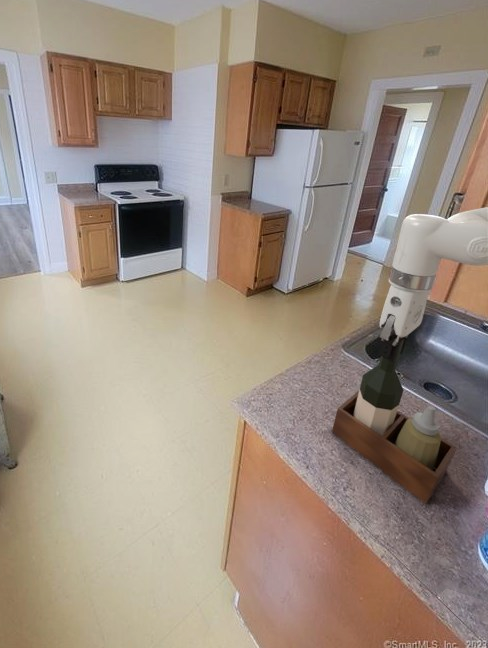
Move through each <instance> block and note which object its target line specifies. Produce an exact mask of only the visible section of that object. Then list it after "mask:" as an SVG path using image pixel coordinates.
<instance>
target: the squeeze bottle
mask: <svg viewBox="0 0 488 648" xmlns="http://www.w3.org/2000/svg"><path fill="white" fill-rule="evenodd" d="M412 416H413V417H408V418H409V419H408V420H407V421H406V422H405V424H404V426H403V428H402V429H401V431H400V433H399V435H398V437H397V439H396V440H395V442H394V445H396V446H397V447H398V448H400V449H401V450H403V451H404V452H406V453H407V454H409V455H410V456H412V457H413V458H415V459H416V460H417V461H419V462H420V463H422V464H423V465H425V466H426V467H428V468H429V469H431V470H432V471H433V472H434V470H435V468H434V467H435V463H436V459H437V455H438V451H439V447H440V442H441V438H442V435H441V433H440V431H439V430H440V429H441V428H440V427H441V425H440V423H439V421H438V420H437V419H436V408H435V407H434V406H433V405H428V406H427V407H426V409H424V411H423V412H421V411H419V412H415V413H414V414H413V415H412Z"/></svg>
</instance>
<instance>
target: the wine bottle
mask: <svg viewBox="0 0 488 648" xmlns="http://www.w3.org/2000/svg"><path fill="white" fill-rule="evenodd" d="M390 335H391V336H393V337H395V335H394V334H392V333H391V334H390ZM404 338H405V337H399V340H398V343H397V345H399V346H398V350H397V353H396V357H395V360H394V361H390V360H388V359H386V358H384V357H382V356H380V357H379V361H378V364H377V365H376V366H375V367H373V368H372V369H369V370H368V371H367V372H365V373H364V374H363V375H362V378H361V382H360V386H359V390H358V391H359V394H358V398H357V402H356V406H355V410H354V414H353V417H355V418H356V419H358V420H359V421H361V422H362V423H363V424H365V425H366V426H368V427H369V428H371V429H372V430H374V431H375V432H377V433H378V434H380V435H381V436H383V435H384V433H385V432H386V431H387V430H388V429H389V428H390V427H391V426H392V425H393V423H394V419H395V416H396V413H397V411H398V408H399V407H400V403H401V400H402V397H403V393H404V388H403V386H402V382H401V381H400V377H399V376H398V373H397V366H398V363H399V360H400V357H401V354H400V353H401V350H402V346H403V343H404Z"/></svg>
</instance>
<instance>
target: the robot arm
mask: <svg viewBox="0 0 488 648" xmlns="http://www.w3.org/2000/svg"><path fill="white" fill-rule="evenodd" d="M400 227H401V228H400V232H399V236H398V240H397V244H396V248H395V252H394V256H393V261H392V264H391V268H390V272H389V276H388V283H389V284H390V286H389V290H388V292H387V295H386V298H385V302H384V304H383V308H382V311H381V315H380V320H379V328H380V329H381V330H382V331H381V332H380V335H379V338H380V339H381V341H380V346H379V349H378V353H377V354H378V356H380V357H381V356H382V357H384V358H386V359H388V360H390V361H394V360H395V357H396V353H397V350H398V346H399V345H397V343H398V340H399V337H404V343H403V346H402V350H401V353H400V355H403V354H404V351H405V347H406V344H407V341H408V336H409V335H410V334H411V333H412V332H414V331H415V330H416V329H418V327H420V325H421V324H422V322H423V318H424V314H425V311H426V307H427V302H428V298H429V292H431V291H432V290H433V286H434V284H435V280H436V277H437V273H438V270H439V267H440V264H441V261H442V260H443V259H444V260H447V261H452V262H456V263H459V264H464V265H468V266H476V267H477V266H478V267H479V266H480V267H481V266H488V206H486V207H481V208H475V209H470V210H466V211H461V212H458V213H456V214H453V215H451V216H450V217H448V218H447V219H446V218H444V217H442V216H438V215H432V214H425V213H424V214H423V213H415V214H409V215H408V216H406V217H405V218H404V219H403V221H402V224H401V226H400ZM391 333H392V334H394V335H395V337H393V336H391V335H390V334H391Z"/></svg>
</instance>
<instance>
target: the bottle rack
mask: <svg viewBox="0 0 488 648" xmlns="http://www.w3.org/2000/svg"><path fill="white" fill-rule="evenodd" d="M358 394H359V390H358V391H356V392H355V393H354V394H353V395H351V396H350V397H349V398H348V399H347V400H346V401H344V402H343V403H342V404H341V405H340V406H338V407H337V408H336V413H335V417H334V422H333V426H332V430H331V433H332V434H333V435H334V436H336V437H337V438H338V439H340V440H341V441H342V442H344V443H345V444H347V445H348V446H349V447H351V449H353V450H354V451H356V452H357V453H358V454H359V455H361V456H362V457H364V458H365V459H366V460H368V461H369V462H370V463H372V464H373V465H374V466H375V467H376V468H378V469H379V470H380V471H382V472H383V473H385V475H387V476H388V477H390V478H391V479H392V480H394V481H395V482H396V483H398V484H400V486H401V487H403V488H404V489H406V490H407V491H408V492H410V493H411V494H412V495H414V496H415V497H416V498H417V499H419V500H420V501H421V502H423V503H424V504H427V503H428V502H429V500H430V499H431V497H432V496H433V494H434V493H435V491H436V489H437V487H438V486H439V484H440V483H441V481H442V480H443V478H444V476H445V474H447V473H446V472H447V470H448V468H449V466H450V464H451V462H452V460H453V457H454V455H455V453H456V450H457V449H458V447H457V446H456V445H454V444H452V443H451V442H449V441H448V440H446V439H444V438H443V437H441V442H440V447H439V451H438V455H437V459H436V463H435V467H434V470H435V471H434V470H433V471H432V470H431V469H429V468H428V467H426V466H425V465H423V464H422V463H420V462H419V461H417V460H416V459H415V458H413V457H412V456H410V455H409V454H407V453H406V452H404V451H403V450H401V449H400V448H398V447H397V446H396V445H394V442H395V440H396V439H397V437H398V435H399V433H400V431H401V429H402V428H403V426H404V424H405V422H406V421H407V420H408V419H409V418H410V417H408V416H406V415H405V414H403V413H401V412H400V411H398V410H397V413H396V416H395V419H394V423H393V425H392V426H391V427H390V428H389V429H388V430H387V431H386V432H385V433H384V435H383V436H381V435H380V434H378V433H377V432H375V431H374V430H372V429H371V428H369V427H368V426H366V425H365V424H363V423H362V422H361V421H359V420H358V419H356V418H355V417H353V414H354V410H355V406H356V402H357V398H358Z"/></svg>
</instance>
